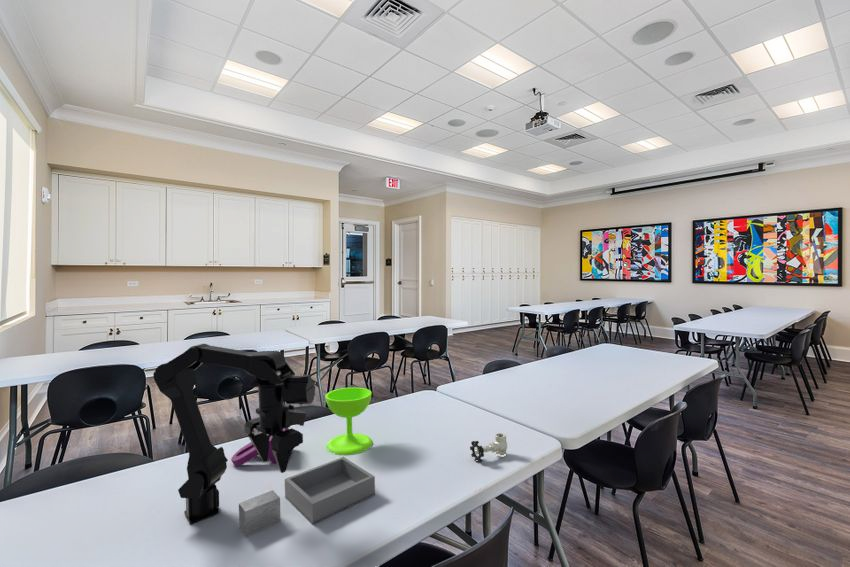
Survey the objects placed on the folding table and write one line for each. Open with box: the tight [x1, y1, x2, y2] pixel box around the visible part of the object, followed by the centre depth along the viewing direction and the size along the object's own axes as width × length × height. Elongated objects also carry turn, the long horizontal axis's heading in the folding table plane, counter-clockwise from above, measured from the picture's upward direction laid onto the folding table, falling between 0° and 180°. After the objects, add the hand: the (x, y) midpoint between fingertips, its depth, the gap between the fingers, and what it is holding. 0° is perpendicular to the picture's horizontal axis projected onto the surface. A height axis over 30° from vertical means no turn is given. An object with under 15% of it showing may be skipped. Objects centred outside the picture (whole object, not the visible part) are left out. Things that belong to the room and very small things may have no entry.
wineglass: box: [324, 387, 373, 456], centre depth 134 cm, size 16×16×18 cm
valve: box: [469, 432, 508, 463], centre depth 123 cm, size 7×7×12 cm
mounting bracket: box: [230, 427, 293, 467], centre depth 125 cm, size 9×8×18 cm
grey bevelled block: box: [238, 490, 282, 538], centre depth 91 cm, size 8×4×6 cm, turn 133°
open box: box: [284, 456, 376, 525], centre depth 103 cm, size 18×16×5 cm
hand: (274, 466), depth 94 cm, fingers open, 9 cm apart
